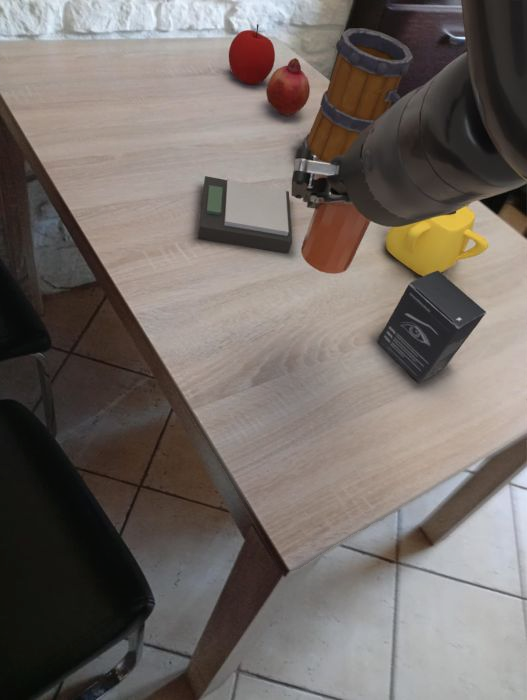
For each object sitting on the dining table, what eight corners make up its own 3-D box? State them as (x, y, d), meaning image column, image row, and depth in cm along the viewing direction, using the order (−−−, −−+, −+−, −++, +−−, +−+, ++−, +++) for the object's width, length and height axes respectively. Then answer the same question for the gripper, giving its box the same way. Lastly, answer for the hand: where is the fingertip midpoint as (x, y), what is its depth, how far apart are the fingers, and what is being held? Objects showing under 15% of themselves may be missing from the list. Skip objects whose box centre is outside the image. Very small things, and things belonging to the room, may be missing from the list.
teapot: (375, 218, 85) (401, 162, 77) (448, 233, 87) (480, 180, 79) (384, 275, 77) (414, 219, 69) (465, 291, 78) (503, 238, 71)
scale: (197, 238, 73) (200, 221, 71) (203, 188, 80) (205, 171, 78) (288, 253, 75) (293, 237, 73) (285, 203, 83) (290, 186, 80)
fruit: (309, 115, 103) (325, 62, 95) (290, 129, 98) (305, 74, 90) (275, 97, 104) (287, 44, 96) (254, 110, 99) (265, 55, 91)
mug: (410, 186, 94) (466, 73, 79) (366, 213, 86) (420, 92, 70) (328, 132, 100) (366, 17, 85) (279, 153, 91) (312, 29, 76)
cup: (302, 269, 51) (332, 190, 44) (299, 235, 54) (327, 157, 47) (353, 277, 52) (389, 202, 45) (347, 243, 55) (381, 168, 48)
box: (445, 368, 67) (490, 312, 59) (417, 385, 65) (460, 329, 56) (402, 326, 71) (439, 267, 62) (374, 340, 68) (409, 281, 60)
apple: (215, 74, 105) (223, 19, 97) (243, 64, 110) (252, 12, 103) (251, 95, 103) (262, 40, 95) (277, 84, 108) (290, 31, 101)
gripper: (531, 123, 34) (416, 177, 51) (322, 74, 32) (273, 147, 49) (509, 237, 35) (403, 254, 52) (303, 198, 33) (261, 228, 49)
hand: (340, 202), depth 50 cm, fingers closed on cup, 5 cm apart
